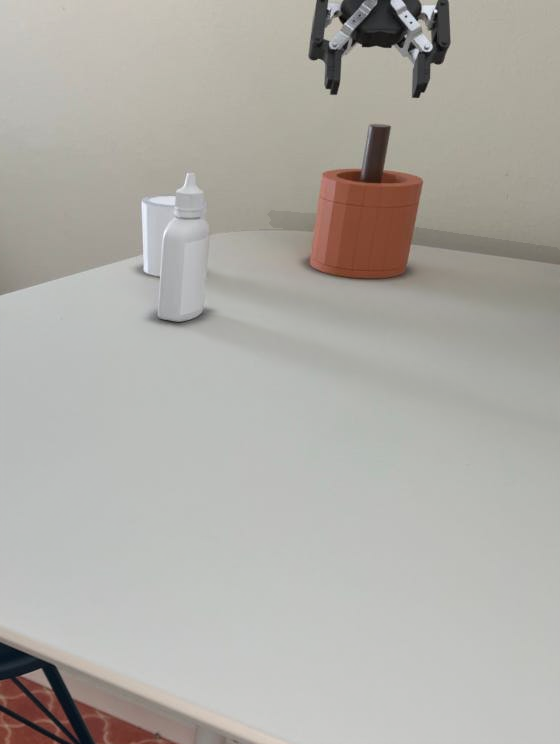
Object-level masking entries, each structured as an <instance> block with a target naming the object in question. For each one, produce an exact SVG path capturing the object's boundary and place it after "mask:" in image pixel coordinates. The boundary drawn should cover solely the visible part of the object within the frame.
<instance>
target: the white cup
mask: <svg viewBox="0 0 560 744" xmlns="http://www.w3.org/2000/svg"><path fill="white" fill-rule="evenodd" d="M175 197H176V194H156V195H155V194H154V195H150V196H145V197H143V198H141V225H142V226H141V227H142V228H141V230H142V253H143V254H142V255H143V257H142V258H143V259H142V260H143V272H144V273H146V274H147V275H150V276H153V277H159V278H160V270H161V255H162V242H163V234H164V231H165V229H166V227H167V225H168V224H169V223H170V222H171V221H172V220H173V219H174V217H175V216H176V215H175V214H174V212H175ZM207 209H208V200H206V199H204V198H203V209H202V216H200V217H201V219H203V220H205V221H206V216H207Z"/></svg>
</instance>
